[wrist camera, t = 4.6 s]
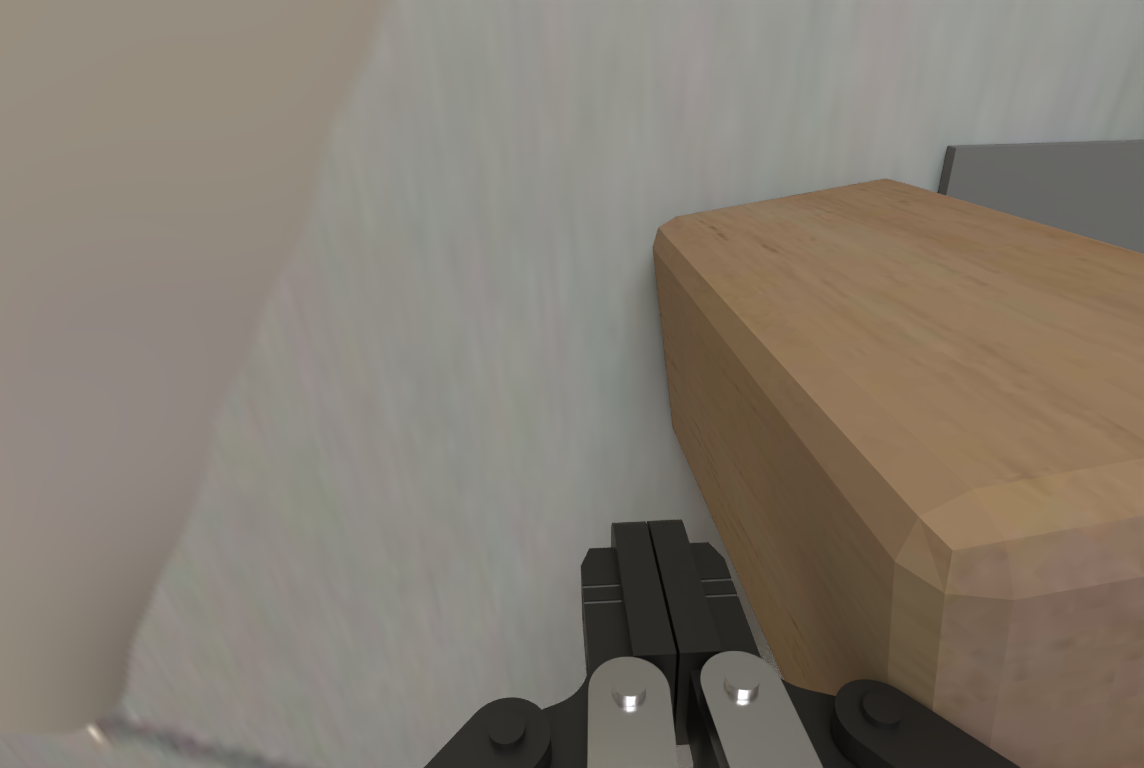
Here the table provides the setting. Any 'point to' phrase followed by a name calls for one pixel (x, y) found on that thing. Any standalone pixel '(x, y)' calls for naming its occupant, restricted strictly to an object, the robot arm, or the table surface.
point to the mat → (1056, 185)
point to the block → (924, 453)
